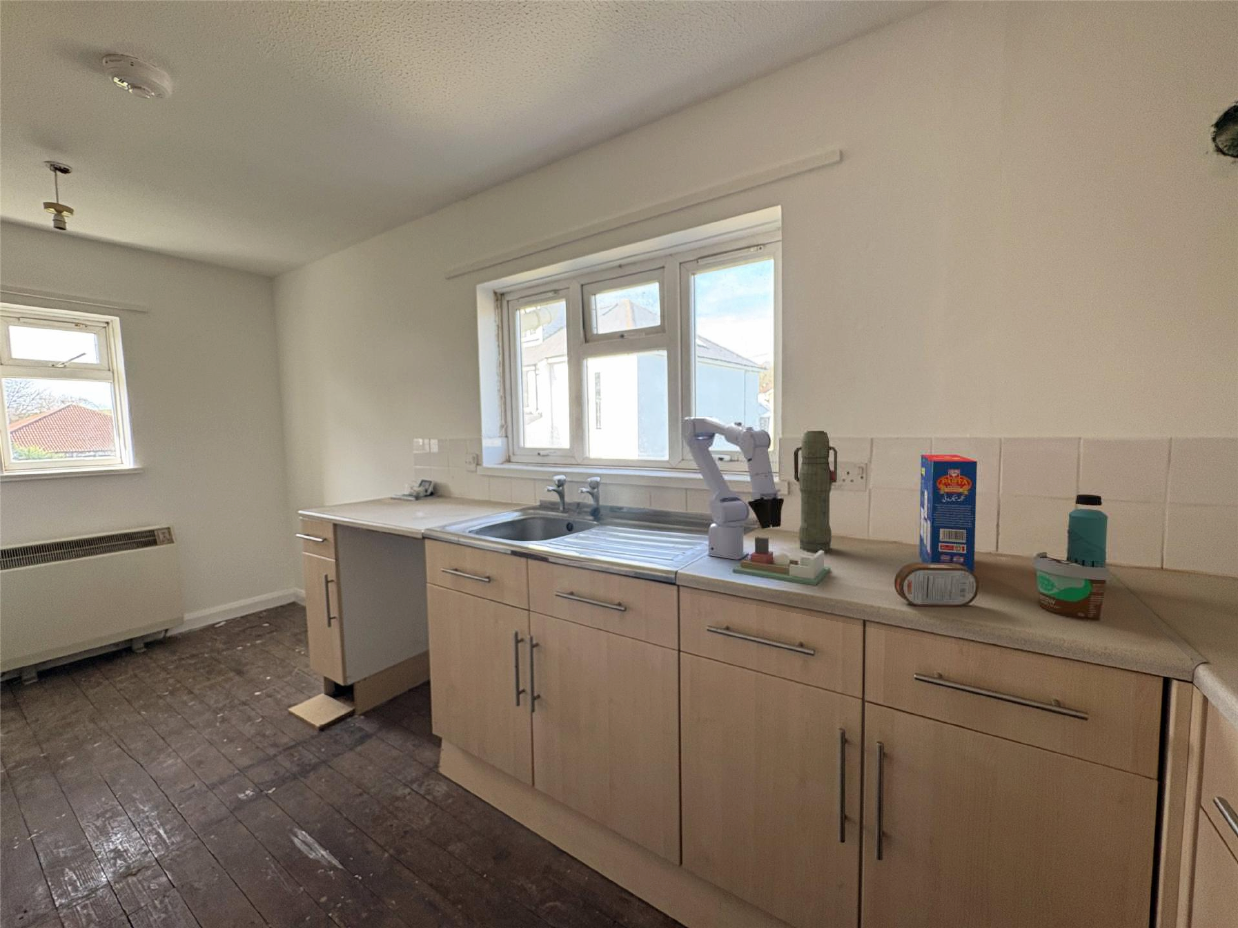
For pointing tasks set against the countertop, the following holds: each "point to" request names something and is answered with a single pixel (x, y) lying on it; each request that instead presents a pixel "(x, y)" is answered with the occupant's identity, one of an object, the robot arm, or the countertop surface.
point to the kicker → (762, 551)
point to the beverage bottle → (1087, 533)
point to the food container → (1070, 587)
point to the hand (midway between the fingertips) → (771, 527)
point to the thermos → (815, 490)
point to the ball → (781, 559)
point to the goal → (808, 566)
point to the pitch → (776, 571)
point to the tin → (936, 584)
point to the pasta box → (948, 510)
